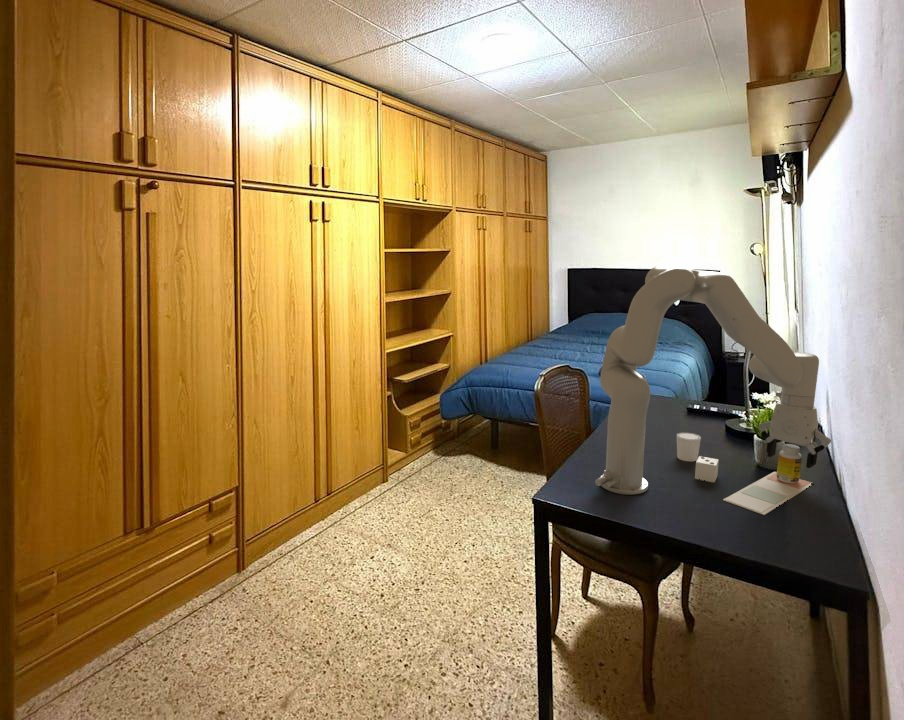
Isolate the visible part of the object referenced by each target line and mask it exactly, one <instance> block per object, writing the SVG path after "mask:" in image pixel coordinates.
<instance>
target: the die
mask: <svg viewBox="0 0 904 720" xmlns="http://www.w3.org/2000/svg"><path fill="white" fill-rule="evenodd" d="M719 460H720V459H717V458H713V457H707V456H702V455H698V458H697V460H696V462H695V468H694V469H695V470H694V471H695V473H694V479H695V480H699V479H700V480H699V481H704V480H705V481H704V482H709V483H713V484H714V483H716V480H717V477H718V472H719V462H720V461H719Z"/></svg>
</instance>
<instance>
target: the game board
mask: <svg viewBox="0 0 904 720" xmlns="http://www.w3.org/2000/svg"><path fill="white" fill-rule="evenodd" d="M776 476H777V471H773V472H771V473H769V474H767V475H765V476H764V477H762V478H759V479H758V480H756V481H754V482H752V483H750V484H748V485H747V486H745V487H743V488H741V489H740V490H738V491H736V492H734V493H733V494H730V495H729V496H727V497H724V498H723V499H722V500H723V502H727V503H729V504H733V505H734V506H738V507H741V508H744V509H746V510H748V511H752V512H755V513H757V514H760V515H763V516H766V515H767V514H768V513H770V512H772V511H773V510H775V509H777V508H778V507H780V506H781V505H783V504H784V502H785V503H786V502H788V501H789V500H791V499H792V498H794V497H796V496H797V495H799V494H800V493H802V492H803V491H806V488H807V489H808V488H810V487H811V486H812V485H811V483H812V482H811V481H808V480H804V479H801V478H799V481H798V482H797V483H794V484H791V483H785V482H782V481H780V480H778V479H777V477H776ZM809 486H810V487H809ZM787 500H788V501H787ZM779 505H780V506H779ZM776 507H777V508H776Z"/></svg>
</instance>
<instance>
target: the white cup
mask: <svg viewBox="0 0 904 720" xmlns="http://www.w3.org/2000/svg"><path fill="white" fill-rule="evenodd" d="M701 440H702V436H700V435H699V434H696V433H692V432H679V433H678V432H677V433H676V455H677V456H676V458H677V459H678V460H681V461H683V462H695V461H697V459H698V458H699V451H700V446H701Z"/></svg>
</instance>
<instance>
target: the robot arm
mask: <svg viewBox="0 0 904 720" xmlns="http://www.w3.org/2000/svg"><path fill="white" fill-rule="evenodd" d="M678 301H683V302H684V301H685V302H691V303H692V302H693V303H700V304H705V306H706V307H707V308H708V309H709V311H710V313H711V315H713V317H714V318H715V320H716V321H717V323H718V324H719V325H720V327H721V328H722V329H723V331H724V332H725V334H726V335H727V336H728V337H729V338H730V339H732V340H733V341H734V342H735V343H737V344H739V345H740V346H741V347H743V348H744V349H746V350H748V351H749V352H750V353H751V354H753V355H752V356H751V358H750V360H749V362H748V369H749V372H750V373H751V374H752V375H754V377H756V378H758V379H760V380H761V381H765V382H767V383H770V384H772V385H775V386H776V387H780V388H781V391H775V397H776V398H779V401H777V402H776V404H775V406H774V409H773V413H772V416H771V420H770V421H765V422H761V423H759V424H758V428H759V430H760V432H761V436H762V437H763V438H764V440H765V442H766V443H767V444H766V453H767V455H766V456H767V457H768V458H772V457H774V456H775V455H776V451H777V441H776V440H779V441H783V442H786V443H788V444H792V445H796V446H802V447H806V448H807V449H808V451H809V452H808V453H807V457H806V468H807V469H811V468H812V467H814V466H816V465H817V459H818V453H819V452H822V451H823V450H825V449H827V447H828V446H829V445H830V444H831V443H832V439H831V438H829V437H828V436H827V435H825V434H824V433H822V432H821V431H819V430H818V423H819V421H818V420H819V419H818V410H817V407H816V406H815V400H816V399H815V398H816V392H817V391H816V390H817V383H818V375H819V366H820V359H819V357H818V356H817V354H813V353H808V352H799V351H798V352H794V351H793V349H792V348H791V346H790V345H789V344H788V343H787V342H786V341H785V340H784V339H783V337H782V336H780V334H778V333H777V332H776V331H775V330H774V329H773V328H772V327H771V326H770V325H769V324H768V323H767V322H766V321H765V320H764V319H763V318H761V316H760V315H759V314H758V312H757V311H756V310H755V309H754V307H753V306H752V304H751V302H750V300H748V298H747V297H746V295H745V294H744V292H743V291H742V289H741V288H740V287H739V285H738V284H737V282H736V281H735V279H734V278H733V277H731V276H730V275H729V274H727V273H726V272H725V273H724V272H719V271H709V270H696V269H691V268H690V269H689V268H688V267H685V266H682V265H670V264H669V265H668V264H659V265H656V266H654V267H652V268H651V269H650V270H649V271H648V272H647V273H646V276H645V280H644V285H642V286H641V287H640V288H639V290H638V291H637V292H636V293H635V295H634V296H633V298H632V300H631V302H630V306H629V309H628V312H627V316H626V319H625V323H624V325H621V326H619V327H617V328H615V329H614V330H613V332H611V334H610V336H609V338H608V339H607V343H606V347H605V352H604V356H603V360H602V365H601V371H600V379H599V381H600V382H599V383H600V386H601V389H602V390H603V392H604V393H605V394H606V395H607V396H608V397H609V398H610V401H611V402H610V407H609V411H608V415H607V416H608V417H607V428H606V429H607V432H606V433H607V438H606V457H605V459H606V460H605V469H604V470H603V474H602V475H600V477H598V478H596V479H595V480H594V484H595V486H597V487H600V486H601V487H602V488H603V489H605V490H607V491H608V492H611V493H615V494H617V495H618V494H620V495H629V496H630V495H631V496H632V495H639V494H643V493H645V492H646V491H647V490H648V489H649V482H648V481H647V479H645V478H644V477H643V476H644V461H645V460H644V459H645V458H644V457H645V442H646V439H645V437H646V425H647V424H646V423H647V414H648V408H649V404H650V400H651V387H650V384H649V383H648V381H647V379H646V378H645V377H644V376H643V375H642V374H640V373H639V372H637V370H638V369H637V368H638V367H639V368H641V367H645V366H647V365H648V364H649V363H651V362H652V360H653V358H654V357H655V353H656V349H657V343H658V339H659V335H660V331H661V326H662V323H663V319H664V318H665V314H666V313H667V311H668V309H669V308H670V307H671V306H672V305H673V304H675V303H676V302H678ZM768 427H769V430H768ZM817 439H818V440H819V441H821V444H819V445H817V443H816V441H817Z"/></svg>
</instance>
